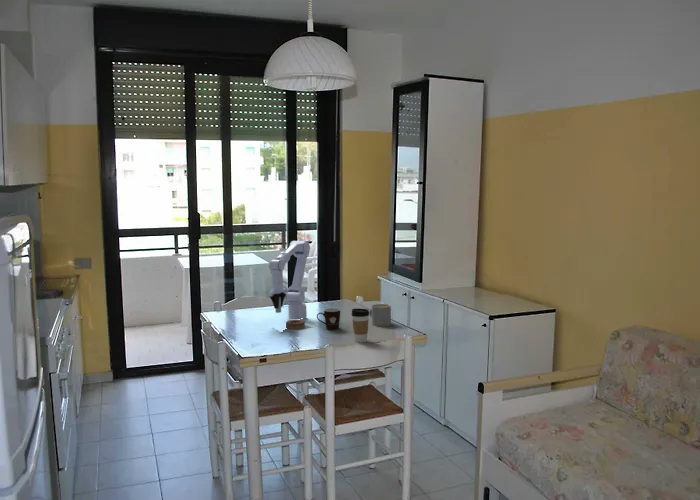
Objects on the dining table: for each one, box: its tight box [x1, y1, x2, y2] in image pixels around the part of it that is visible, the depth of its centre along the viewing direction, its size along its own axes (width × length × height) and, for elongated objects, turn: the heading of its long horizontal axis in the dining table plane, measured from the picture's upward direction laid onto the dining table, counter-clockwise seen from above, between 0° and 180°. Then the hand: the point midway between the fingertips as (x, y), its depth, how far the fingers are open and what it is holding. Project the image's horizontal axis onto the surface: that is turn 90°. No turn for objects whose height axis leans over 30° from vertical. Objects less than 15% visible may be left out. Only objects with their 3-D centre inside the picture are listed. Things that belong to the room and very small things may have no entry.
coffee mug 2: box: [369, 303, 392, 327], centre depth 305 cm, size 13×10×10 cm
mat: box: [280, 324, 314, 334], centre depth 301 cm, size 18×18×1 cm
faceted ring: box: [285, 319, 306, 331], centre depth 300 cm, size 9×9×3 cm
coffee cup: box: [351, 308, 370, 343], centre depth 271 cm, size 8×8×15 cm
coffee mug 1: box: [316, 307, 341, 331], centre depth 296 cm, size 12×9×10 cm
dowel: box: [274, 297, 282, 314], centre depth 304 cm, size 3×3×8 cm
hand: (278, 307), depth 304 cm, fingers closed on dowel, 3 cm apart
